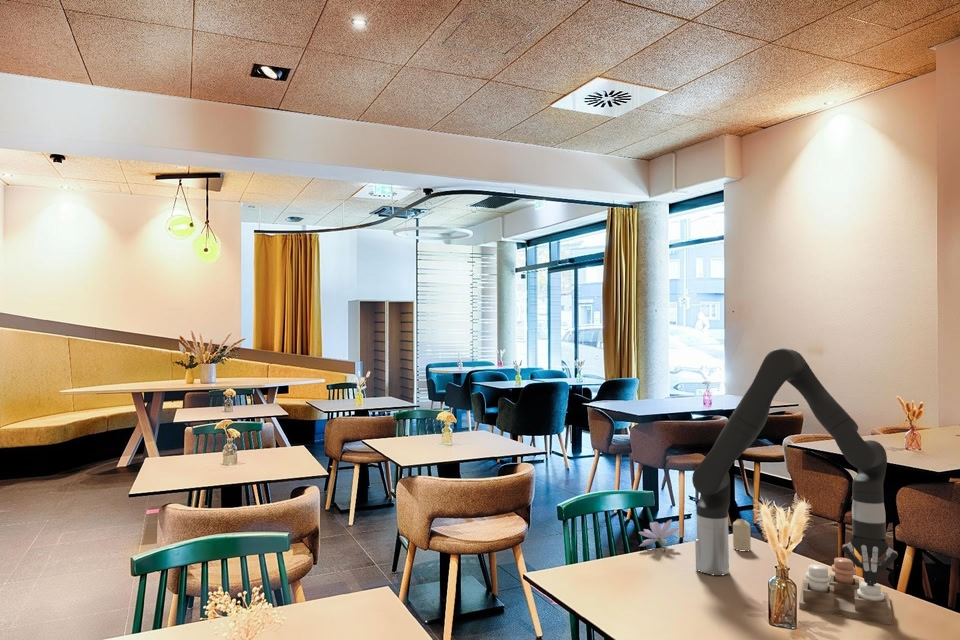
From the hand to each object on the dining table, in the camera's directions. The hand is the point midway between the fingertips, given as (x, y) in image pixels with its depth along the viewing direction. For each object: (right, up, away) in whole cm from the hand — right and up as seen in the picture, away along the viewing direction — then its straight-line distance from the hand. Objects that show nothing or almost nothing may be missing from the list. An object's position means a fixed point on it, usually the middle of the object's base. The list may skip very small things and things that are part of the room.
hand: (870, 584), depth 168 cm
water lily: (-40, -10, +54) cm, 68 cm away
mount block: (-3, -8, +7) cm, 11 cm away
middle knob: (-1, -4, +11) cm, 12 cm away
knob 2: (0, -6, 0) cm, 6 cm away
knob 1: (-10, -4, +6) cm, 13 cm away
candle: (-12, -9, +52) cm, 54 cm away
